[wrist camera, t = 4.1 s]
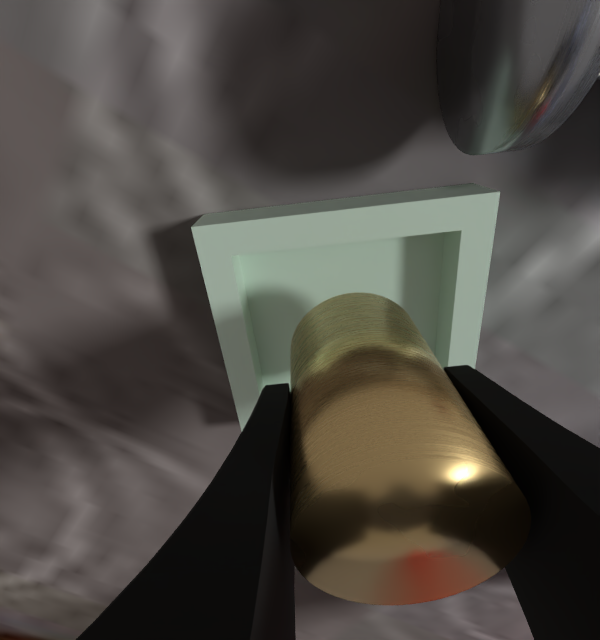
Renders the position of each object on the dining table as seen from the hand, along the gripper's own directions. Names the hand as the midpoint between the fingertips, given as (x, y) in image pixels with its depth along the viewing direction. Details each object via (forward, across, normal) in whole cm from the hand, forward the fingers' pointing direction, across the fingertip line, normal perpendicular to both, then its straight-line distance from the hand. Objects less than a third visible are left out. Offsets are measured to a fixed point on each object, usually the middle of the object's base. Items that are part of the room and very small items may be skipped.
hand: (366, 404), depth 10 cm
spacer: (+2, 0, 0) cm, 2 cm away
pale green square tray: (+5, 0, 0) cm, 5 cm away
